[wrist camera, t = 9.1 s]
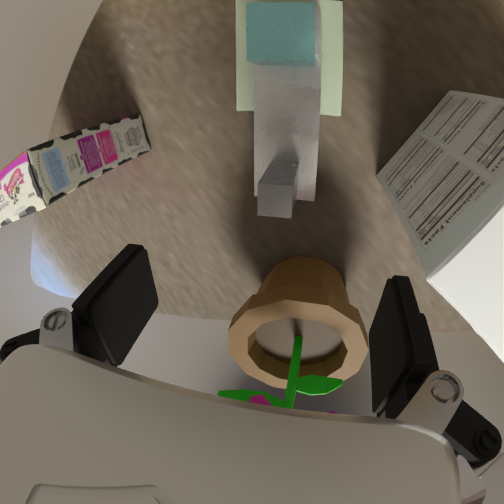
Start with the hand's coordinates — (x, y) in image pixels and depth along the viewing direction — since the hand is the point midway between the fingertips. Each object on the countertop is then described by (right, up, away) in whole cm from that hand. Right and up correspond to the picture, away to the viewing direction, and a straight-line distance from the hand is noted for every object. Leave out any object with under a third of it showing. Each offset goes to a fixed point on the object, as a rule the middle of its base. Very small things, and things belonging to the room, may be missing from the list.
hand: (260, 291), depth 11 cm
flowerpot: (+6, -3, +26) cm, 27 cm away
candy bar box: (-17, +15, +21) cm, 31 cm away
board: (+3, +20, +12) cm, 23 cm away
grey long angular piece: (+3, +16, +15) cm, 22 cm away
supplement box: (+21, +10, +14) cm, 27 cm away
